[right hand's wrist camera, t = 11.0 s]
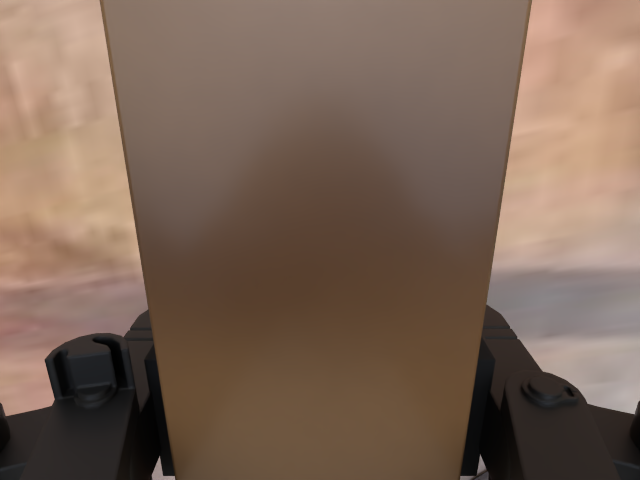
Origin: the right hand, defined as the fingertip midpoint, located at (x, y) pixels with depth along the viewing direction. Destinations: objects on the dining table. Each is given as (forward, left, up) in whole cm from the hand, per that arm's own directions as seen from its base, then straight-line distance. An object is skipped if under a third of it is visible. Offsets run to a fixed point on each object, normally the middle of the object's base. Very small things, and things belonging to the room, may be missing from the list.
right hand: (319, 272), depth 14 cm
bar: (+9, -2, -1) cm, 10 cm away
